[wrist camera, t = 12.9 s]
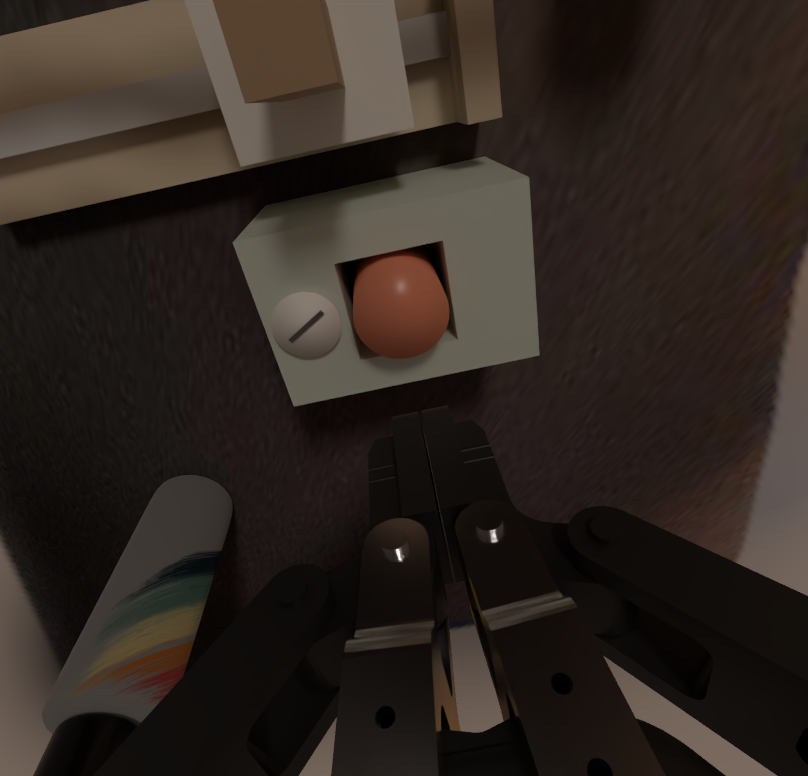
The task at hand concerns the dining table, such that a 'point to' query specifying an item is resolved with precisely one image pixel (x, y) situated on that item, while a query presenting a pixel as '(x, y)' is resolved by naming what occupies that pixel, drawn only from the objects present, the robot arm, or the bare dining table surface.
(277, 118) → the carriage
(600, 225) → the dining table surface
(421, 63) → the rail
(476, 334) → the cabinet
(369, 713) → the robot arm
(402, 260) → the gauge plunger
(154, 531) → the lotion bottle
